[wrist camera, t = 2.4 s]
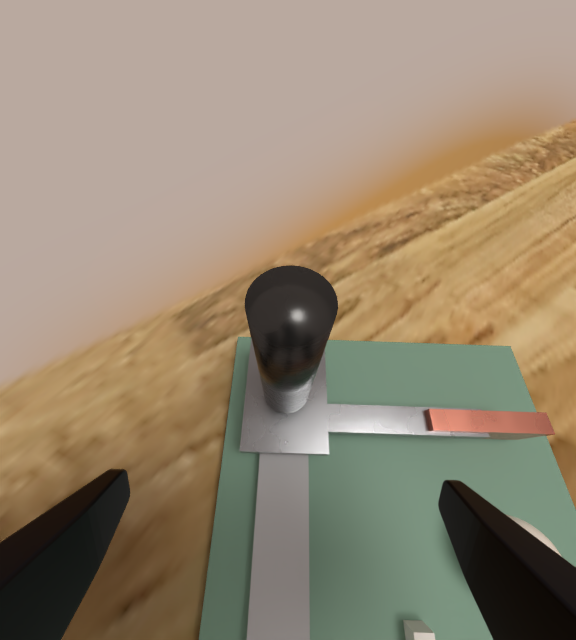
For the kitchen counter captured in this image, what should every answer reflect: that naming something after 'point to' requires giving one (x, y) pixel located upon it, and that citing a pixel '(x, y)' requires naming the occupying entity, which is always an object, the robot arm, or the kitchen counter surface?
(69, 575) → the robot arm
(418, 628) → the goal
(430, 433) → the slider
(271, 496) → the pitch
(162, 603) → the kitchen counter surface
